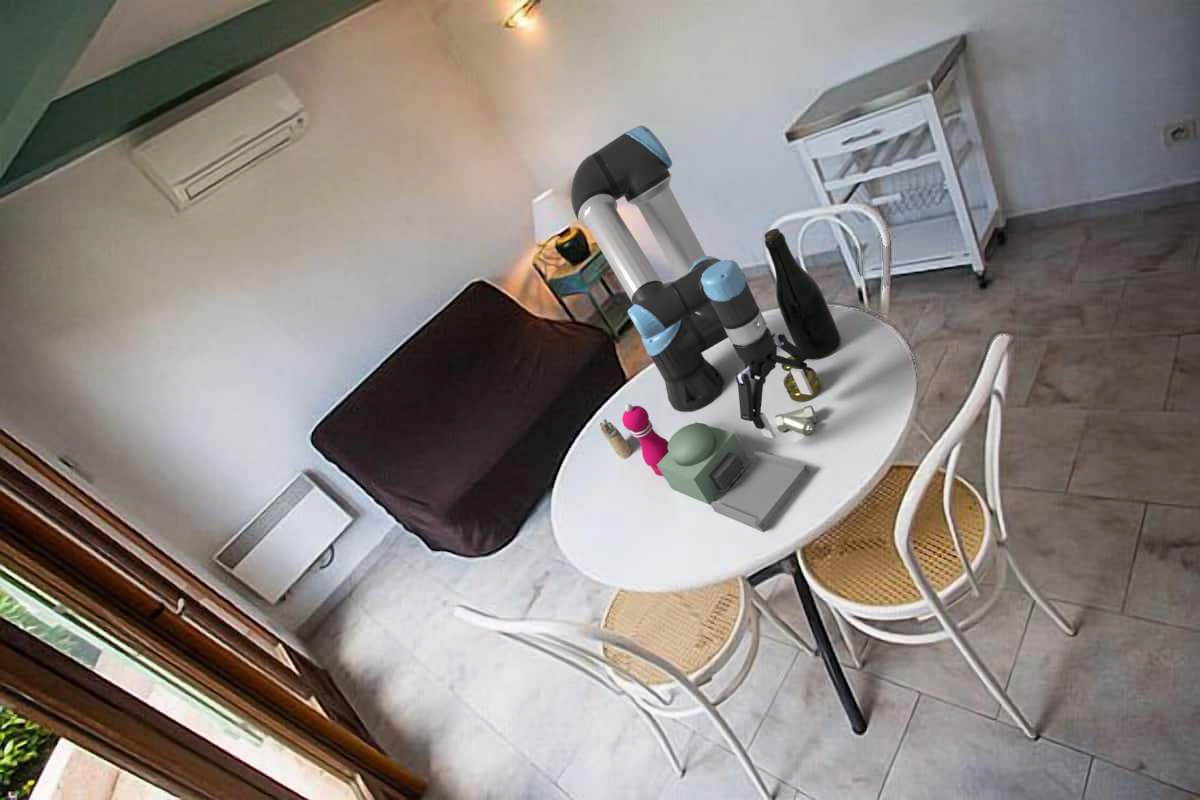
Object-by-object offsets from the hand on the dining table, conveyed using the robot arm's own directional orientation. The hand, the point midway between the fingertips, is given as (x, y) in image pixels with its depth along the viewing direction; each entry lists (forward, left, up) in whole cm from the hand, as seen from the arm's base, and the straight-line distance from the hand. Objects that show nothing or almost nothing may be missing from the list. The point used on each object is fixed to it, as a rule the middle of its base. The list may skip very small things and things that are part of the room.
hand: (788, 414), depth 135 cm
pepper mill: (-25, -19, -6) cm, 32 cm away
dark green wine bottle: (-12, +27, -6) cm, 31 cm away
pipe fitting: (-1, +1, -6) cm, 6 cm away
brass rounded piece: (-6, +12, -6) cm, 15 cm away
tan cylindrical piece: (-42, -19, -6) cm, 47 cm away
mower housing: (-11, -17, -6) cm, 21 cm away
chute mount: (+3, -17, -6) cm, 18 cm away
